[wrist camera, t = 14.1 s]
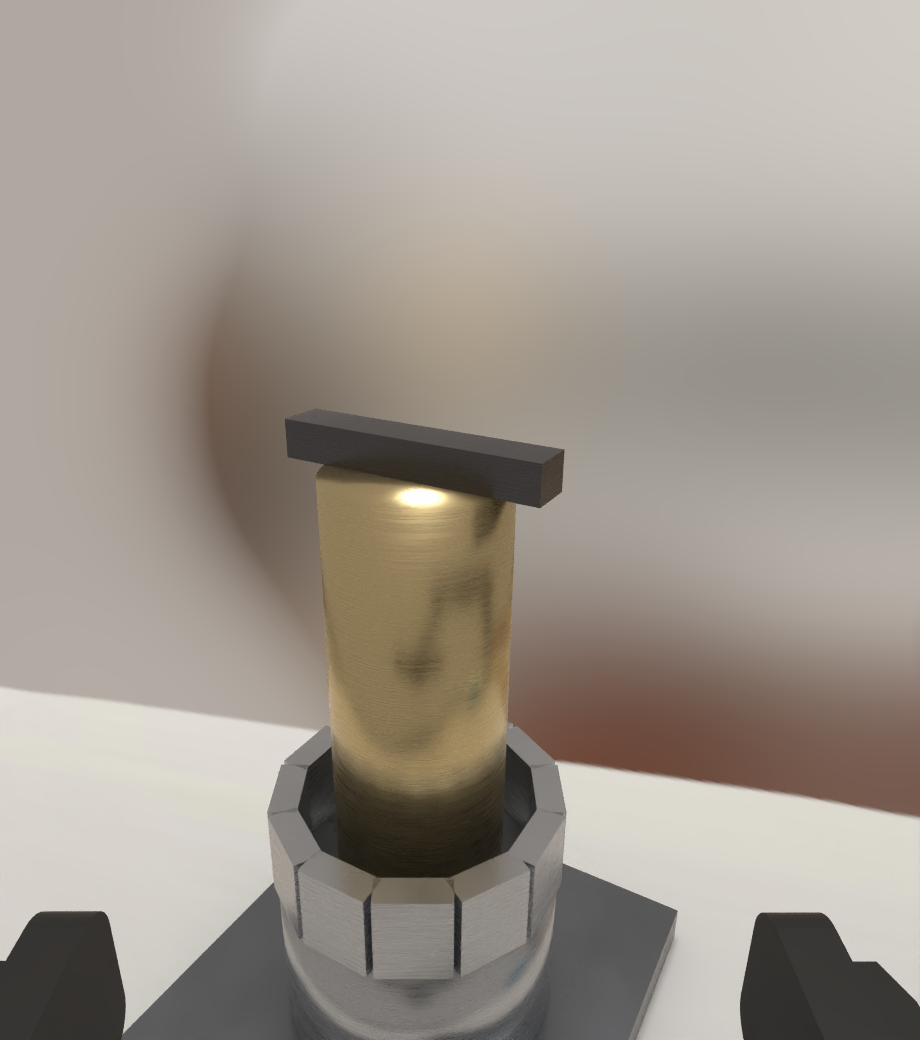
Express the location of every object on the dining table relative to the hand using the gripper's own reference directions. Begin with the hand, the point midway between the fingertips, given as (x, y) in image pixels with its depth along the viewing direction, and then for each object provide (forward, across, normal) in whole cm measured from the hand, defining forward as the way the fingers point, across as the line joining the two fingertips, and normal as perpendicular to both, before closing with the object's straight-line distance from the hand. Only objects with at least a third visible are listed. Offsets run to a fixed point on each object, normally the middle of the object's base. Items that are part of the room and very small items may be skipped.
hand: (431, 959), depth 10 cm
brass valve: (+11, +1, +9) cm, 15 cm away
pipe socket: (+11, +1, +15) cm, 19 cm away
